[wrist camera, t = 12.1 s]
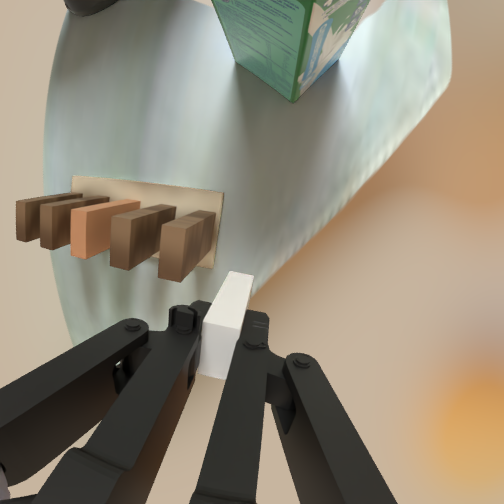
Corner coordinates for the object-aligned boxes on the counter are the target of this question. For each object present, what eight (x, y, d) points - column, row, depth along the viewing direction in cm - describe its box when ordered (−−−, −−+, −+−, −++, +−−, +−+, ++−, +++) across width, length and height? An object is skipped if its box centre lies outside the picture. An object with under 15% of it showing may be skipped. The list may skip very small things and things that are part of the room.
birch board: (76, 175, 33) (72, 175, 32) (224, 192, 32) (222, 193, 31) (73, 236, 35) (69, 238, 34) (213, 266, 34) (211, 268, 33)
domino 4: (199, 209, 31) (161, 224, 21) (216, 212, 31) (185, 228, 21) (194, 246, 33) (157, 277, 22) (210, 249, 32) (180, 282, 22)
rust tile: (127, 198, 32) (71, 209, 21) (140, 200, 32) (86, 211, 21) (124, 233, 33) (70, 255, 22) (137, 235, 33) (85, 259, 22)
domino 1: (72, 192, 32) (16, 201, 22) (82, 193, 32) (25, 202, 21) (71, 223, 33) (16, 239, 23) (81, 224, 33) (25, 242, 23)
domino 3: (161, 203, 32) (111, 216, 21) (176, 206, 32) (131, 219, 21) (157, 239, 33) (109, 265, 22) (172, 242, 33) (128, 270, 22)
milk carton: (292, 104, 28) (326, -57, 4) (234, 61, 28) (164, -95, 3) (339, 58, 26) (418, -85, 2) (282, 19, 25) (280, -135, 1)
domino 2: (98, 195, 32) (40, 204, 21) (109, 196, 32) (52, 206, 21) (96, 227, 33) (40, 246, 22) (107, 230, 33) (52, 250, 22)
